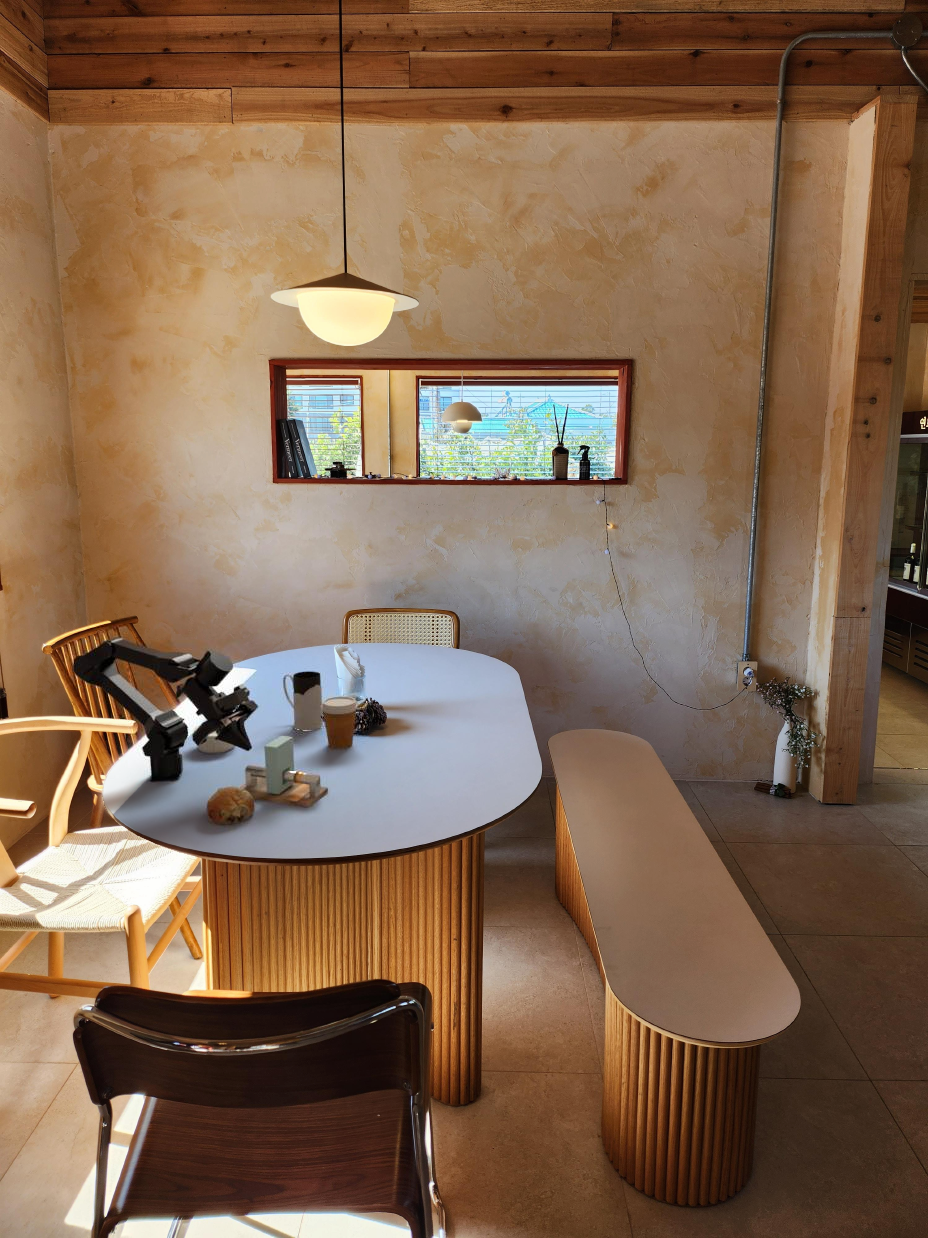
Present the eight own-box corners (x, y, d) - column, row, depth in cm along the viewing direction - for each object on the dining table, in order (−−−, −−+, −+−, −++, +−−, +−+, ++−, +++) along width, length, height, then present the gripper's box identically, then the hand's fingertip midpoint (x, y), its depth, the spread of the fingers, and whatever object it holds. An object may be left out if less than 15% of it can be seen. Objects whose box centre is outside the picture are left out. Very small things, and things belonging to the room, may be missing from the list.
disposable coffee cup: (324, 752, 215) (323, 708, 212) (320, 740, 224) (319, 697, 221) (361, 749, 217) (360, 705, 215) (355, 737, 226) (354, 694, 224)
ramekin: (226, 756, 212) (225, 737, 211) (186, 753, 214) (185, 734, 213) (246, 742, 223) (245, 723, 221) (208, 739, 225) (206, 720, 224)
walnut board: (233, 795, 188) (233, 790, 188) (256, 781, 196) (255, 776, 196) (308, 807, 182) (308, 802, 181) (328, 791, 190) (327, 787, 190)
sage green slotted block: (266, 792, 186) (264, 745, 184) (283, 781, 192) (281, 735, 190) (278, 794, 185) (276, 747, 183) (294, 782, 191) (292, 737, 189)
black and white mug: (307, 733, 229) (305, 680, 226) (273, 723, 238) (271, 672, 234) (330, 725, 236) (329, 674, 233) (297, 715, 244) (294, 666, 241)
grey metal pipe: (245, 786, 190) (244, 767, 189) (251, 782, 193) (250, 763, 192) (315, 797, 184) (314, 777, 184) (321, 793, 187) (320, 773, 186)
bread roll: (258, 824, 182) (259, 787, 184) (247, 824, 172) (249, 785, 174) (212, 825, 182) (214, 787, 183) (199, 825, 172) (201, 785, 174)
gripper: (199, 687, 179) (246, 741, 178) (248, 666, 197) (292, 715, 195) (172, 719, 183) (218, 772, 182) (222, 696, 201) (265, 744, 199)
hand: (250, 749), depth 189 cm, fingers closed
